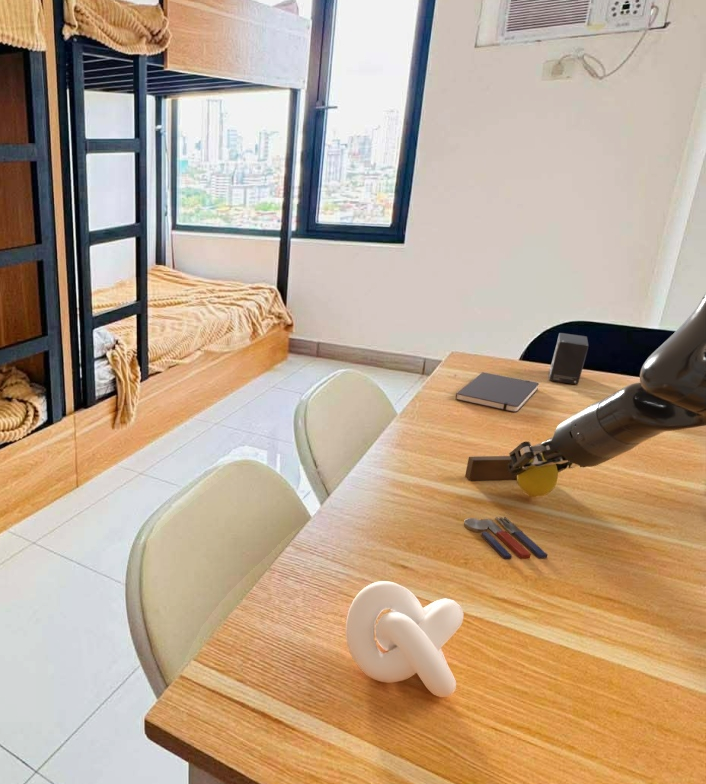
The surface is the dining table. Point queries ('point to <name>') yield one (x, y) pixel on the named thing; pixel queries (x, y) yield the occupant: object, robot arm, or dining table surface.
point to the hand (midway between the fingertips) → (530, 469)
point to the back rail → (489, 468)
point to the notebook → (498, 392)
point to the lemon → (538, 480)
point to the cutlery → (505, 537)
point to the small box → (568, 358)
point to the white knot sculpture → (402, 636)
